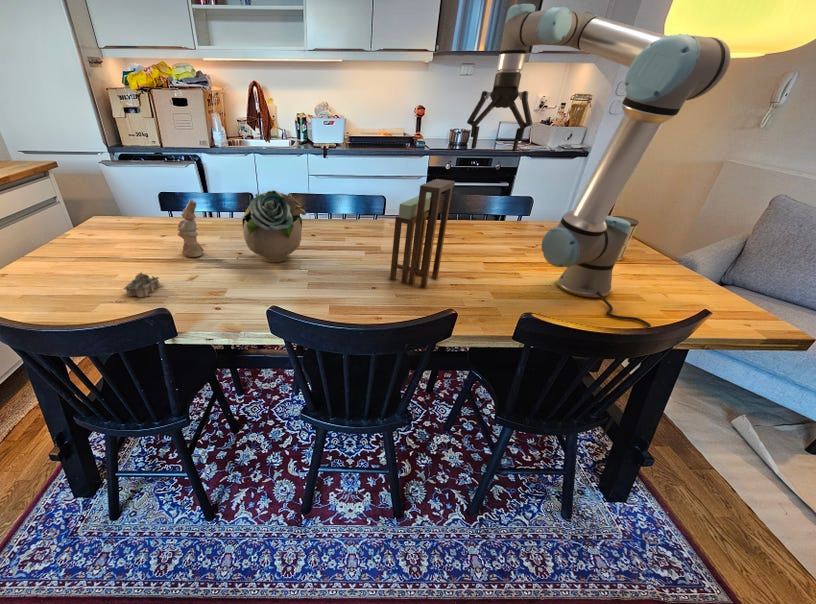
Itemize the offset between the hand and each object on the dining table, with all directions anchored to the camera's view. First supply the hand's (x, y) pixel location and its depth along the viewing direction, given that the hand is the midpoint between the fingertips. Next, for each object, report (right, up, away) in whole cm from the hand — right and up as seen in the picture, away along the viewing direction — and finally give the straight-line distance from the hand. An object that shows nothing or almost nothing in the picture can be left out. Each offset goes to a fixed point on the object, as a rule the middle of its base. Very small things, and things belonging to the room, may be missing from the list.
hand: (493, 149), depth 133 cm
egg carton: (-115, -49, -6) cm, 125 cm away
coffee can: (+54, -30, +23) cm, 66 cm away
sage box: (-26, -23, -4) cm, 35 cm away
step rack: (-26, -43, +3) cm, 50 cm away
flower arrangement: (-77, -33, +18) cm, 85 cm away
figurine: (-109, -30, +21) cm, 115 cm away
